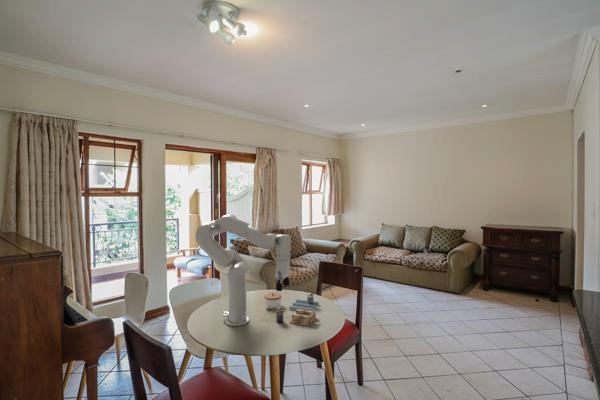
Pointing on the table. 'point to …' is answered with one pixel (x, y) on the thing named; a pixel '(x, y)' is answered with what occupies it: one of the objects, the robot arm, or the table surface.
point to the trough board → (304, 305)
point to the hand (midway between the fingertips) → (282, 288)
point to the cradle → (303, 317)
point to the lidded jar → (272, 300)
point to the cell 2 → (310, 298)
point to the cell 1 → (279, 314)
